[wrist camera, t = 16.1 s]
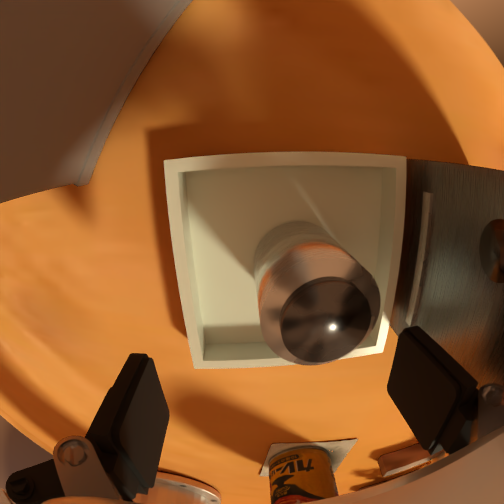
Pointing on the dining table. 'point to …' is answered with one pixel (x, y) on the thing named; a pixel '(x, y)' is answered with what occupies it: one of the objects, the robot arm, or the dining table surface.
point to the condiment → (304, 470)
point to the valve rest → (403, 460)
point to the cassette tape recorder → (68, 83)
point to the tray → (265, 219)
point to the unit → (454, 263)
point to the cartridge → (312, 295)
